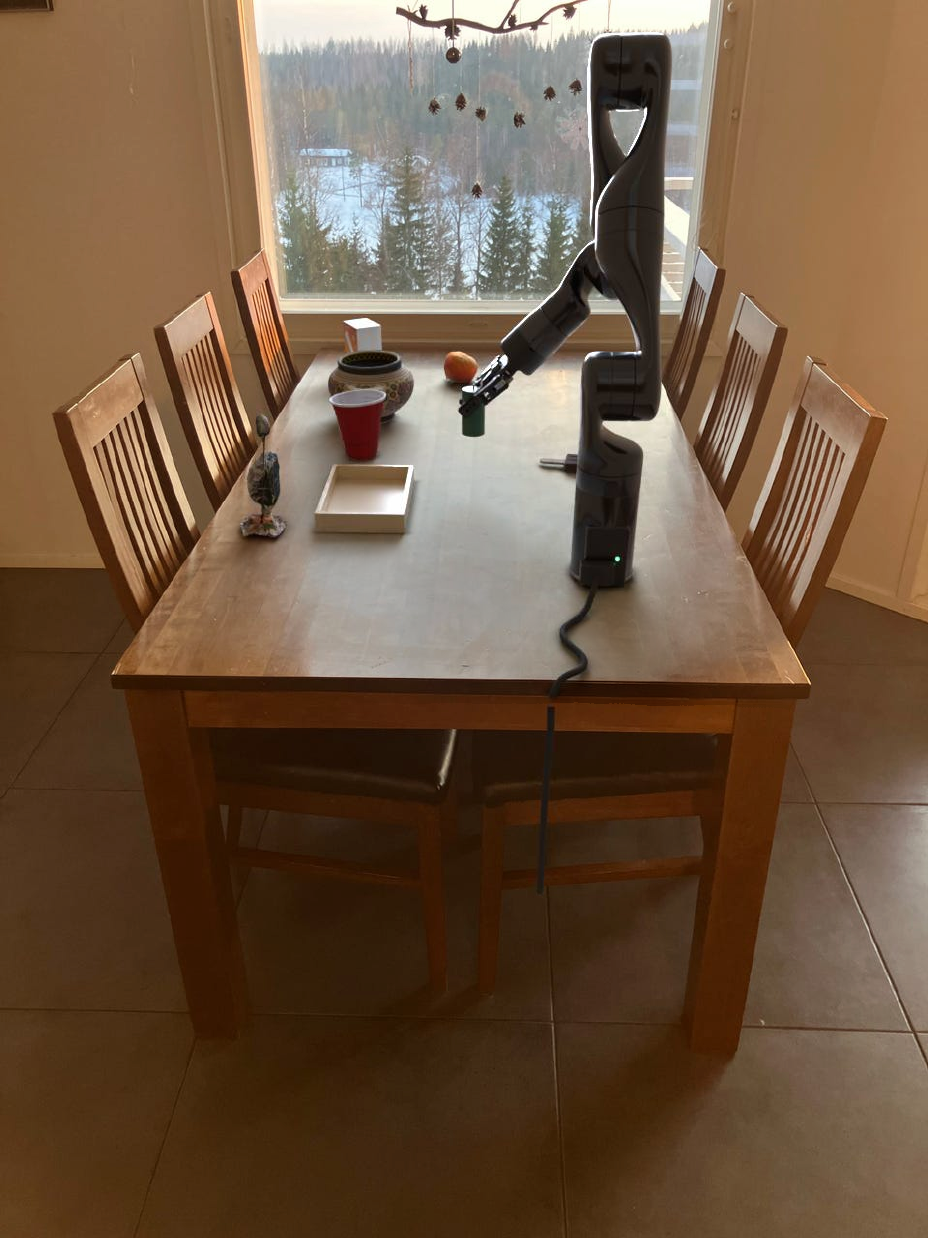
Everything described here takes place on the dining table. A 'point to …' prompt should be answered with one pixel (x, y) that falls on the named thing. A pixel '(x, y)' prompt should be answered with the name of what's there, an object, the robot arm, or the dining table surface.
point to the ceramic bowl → (374, 378)
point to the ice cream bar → (564, 462)
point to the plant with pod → (264, 488)
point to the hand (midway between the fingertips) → (462, 409)
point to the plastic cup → (359, 421)
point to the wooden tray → (365, 499)
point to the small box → (362, 335)
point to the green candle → (473, 416)
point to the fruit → (459, 367)
